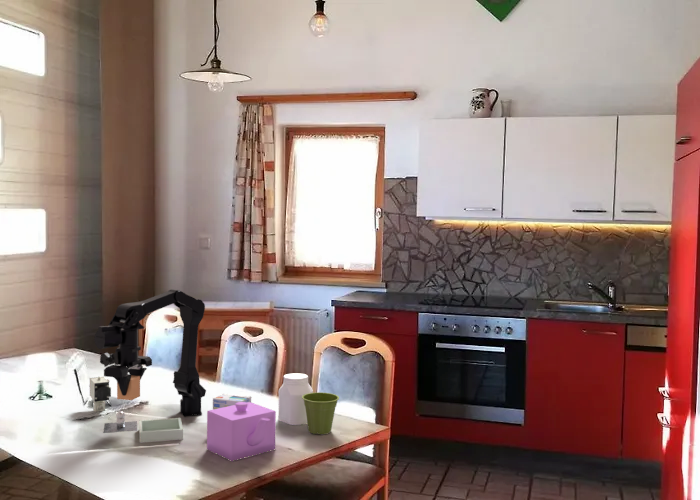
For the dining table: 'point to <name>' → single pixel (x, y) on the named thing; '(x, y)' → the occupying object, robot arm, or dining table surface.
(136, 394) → the terracotta orange cube
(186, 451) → the dining table surface
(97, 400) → the pneumatic valve
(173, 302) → the robot arm
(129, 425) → the stud plate
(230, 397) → the light bulb box
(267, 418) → the lilac knobbed box
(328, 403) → the plant pot
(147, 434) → the tray
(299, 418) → the jar
